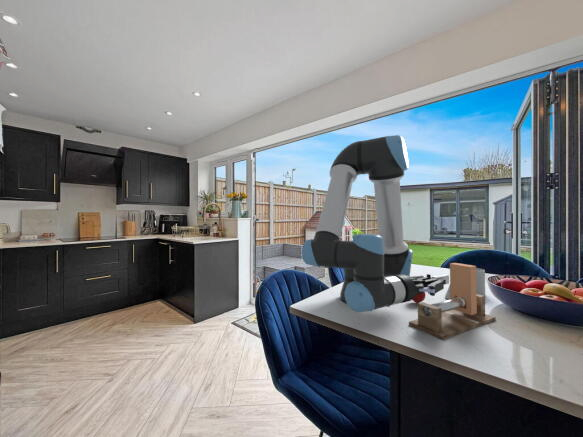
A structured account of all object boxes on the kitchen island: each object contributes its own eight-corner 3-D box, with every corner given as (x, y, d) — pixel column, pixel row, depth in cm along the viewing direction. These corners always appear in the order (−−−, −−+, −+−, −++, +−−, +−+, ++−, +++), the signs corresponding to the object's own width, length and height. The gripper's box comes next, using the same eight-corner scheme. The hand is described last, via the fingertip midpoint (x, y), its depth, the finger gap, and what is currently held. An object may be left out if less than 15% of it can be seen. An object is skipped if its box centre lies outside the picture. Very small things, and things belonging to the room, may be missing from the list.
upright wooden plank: (471, 315, 79) (470, 266, 79) (450, 308, 85) (449, 263, 85) (476, 313, 80) (476, 265, 80) (455, 307, 86) (455, 262, 86)
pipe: (431, 318, 73) (431, 307, 73) (421, 314, 76) (421, 304, 76) (480, 303, 84) (480, 294, 84) (470, 301, 87) (470, 292, 87)
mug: (489, 294, 107) (488, 269, 107) (480, 298, 103) (479, 272, 103) (459, 288, 118) (458, 265, 118) (449, 291, 113) (449, 267, 113)
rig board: (443, 339, 69) (442, 313, 69) (408, 324, 79) (408, 301, 79) (495, 320, 81) (495, 297, 81) (460, 309, 91) (460, 289, 91)
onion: (425, 307, 94) (424, 286, 94) (408, 304, 97) (408, 284, 97) (426, 302, 99) (425, 282, 99) (410, 300, 102) (410, 281, 102)
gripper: (377, 296, 73) (427, 285, 84) (416, 310, 62) (469, 296, 73) (377, 271, 73) (427, 264, 84) (416, 281, 62) (468, 270, 73)
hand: (446, 278), depth 78 cm, fingers closed
